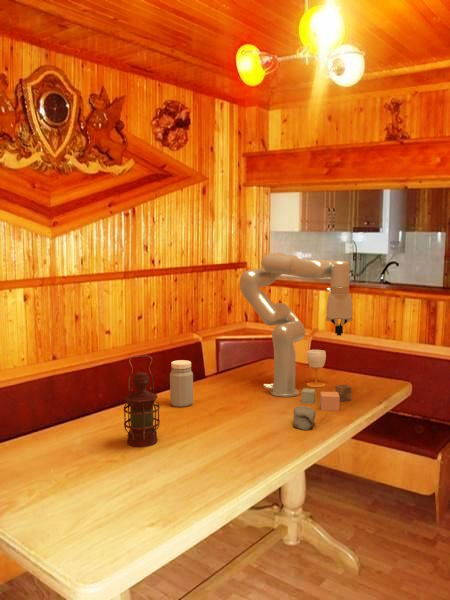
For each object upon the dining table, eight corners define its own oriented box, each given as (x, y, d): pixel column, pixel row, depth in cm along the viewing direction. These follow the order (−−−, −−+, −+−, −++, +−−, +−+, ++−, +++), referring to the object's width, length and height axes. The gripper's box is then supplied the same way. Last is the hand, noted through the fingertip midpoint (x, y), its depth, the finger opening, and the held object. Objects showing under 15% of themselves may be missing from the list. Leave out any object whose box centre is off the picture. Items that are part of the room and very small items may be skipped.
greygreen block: (301, 403, 237) (301, 391, 236) (303, 399, 242) (303, 388, 241) (313, 404, 235) (313, 392, 235) (315, 400, 240) (315, 389, 240)
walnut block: (340, 402, 238) (340, 388, 237) (335, 398, 243) (335, 385, 242) (351, 401, 239) (351, 387, 239) (346, 398, 244) (346, 384, 243)
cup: (302, 383, 268) (303, 350, 266) (318, 381, 272) (319, 348, 270) (313, 388, 260) (313, 354, 258) (329, 386, 264) (330, 352, 262)
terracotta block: (321, 410, 226) (321, 396, 226) (320, 405, 233) (320, 391, 233) (339, 411, 226) (339, 396, 225) (337, 406, 233) (337, 391, 232)
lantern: (126, 449, 185) (123, 360, 182) (122, 437, 197) (120, 353, 194) (162, 446, 189) (161, 358, 185) (157, 433, 200) (155, 350, 197)
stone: (287, 428, 205) (291, 401, 209) (293, 432, 213) (297, 406, 216) (310, 431, 202) (315, 404, 205) (316, 436, 209) (320, 409, 212)
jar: (182, 409, 229) (182, 365, 227) (165, 405, 235) (164, 362, 233) (198, 403, 237) (197, 361, 235) (180, 399, 242) (180, 358, 240)
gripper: (321, 291, 227) (321, 336, 229) (359, 291, 226) (358, 337, 228) (320, 290, 235) (319, 333, 237) (357, 290, 233) (356, 333, 235)
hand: (338, 335), depth 232 cm, fingers closed
